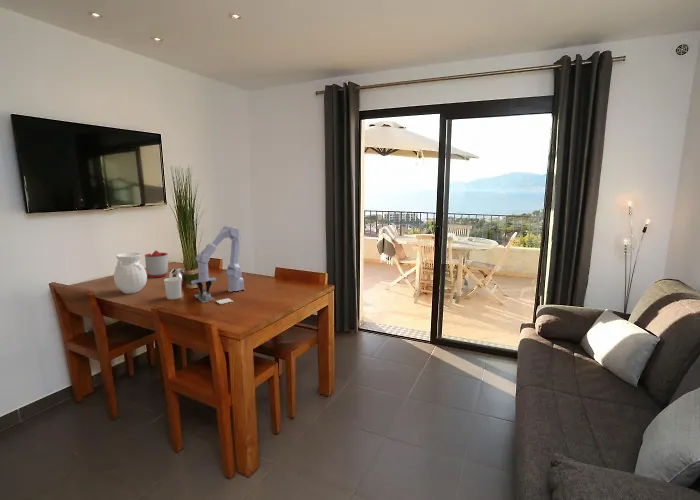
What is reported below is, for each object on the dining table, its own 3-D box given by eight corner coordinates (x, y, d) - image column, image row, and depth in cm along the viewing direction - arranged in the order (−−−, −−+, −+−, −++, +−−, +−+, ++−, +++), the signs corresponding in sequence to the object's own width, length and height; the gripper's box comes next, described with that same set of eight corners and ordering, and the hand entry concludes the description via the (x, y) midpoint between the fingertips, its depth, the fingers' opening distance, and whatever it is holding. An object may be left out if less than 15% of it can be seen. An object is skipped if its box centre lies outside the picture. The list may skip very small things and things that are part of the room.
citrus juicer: (165, 272, 291) (164, 247, 288) (171, 276, 278) (169, 251, 275) (144, 274, 281) (141, 249, 278) (148, 279, 268) (146, 253, 265)
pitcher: (133, 296, 229) (129, 258, 224) (108, 294, 232) (104, 256, 228) (154, 288, 247) (151, 252, 242) (131, 286, 250) (127, 251, 246)
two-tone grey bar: (203, 294, 234) (203, 288, 234) (210, 299, 223) (210, 294, 223) (199, 295, 232) (198, 289, 232) (206, 300, 222) (205, 294, 221)
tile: (228, 298, 226) (233, 301, 220) (228, 300, 226) (233, 303, 221) (215, 300, 221) (220, 303, 215) (216, 303, 221) (220, 306, 216)
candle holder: (163, 300, 223) (162, 281, 221) (167, 295, 232) (165, 277, 230) (181, 299, 226) (179, 280, 223) (183, 294, 235) (182, 276, 233)
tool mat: (206, 293, 237) (206, 292, 237) (216, 300, 224) (216, 300, 224) (194, 295, 233) (194, 295, 232) (202, 303, 219) (202, 302, 219)
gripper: (213, 269, 233) (214, 289, 235) (189, 272, 224) (190, 293, 226) (216, 271, 227) (217, 292, 230) (192, 275, 218) (194, 296, 221)
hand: (204, 293), depth 228 cm, fingers closed on two-tone grey bar, 3 cm apart
